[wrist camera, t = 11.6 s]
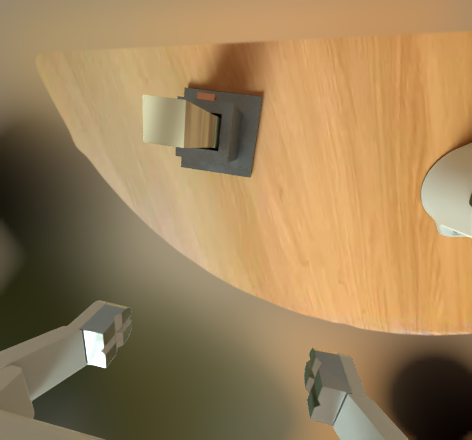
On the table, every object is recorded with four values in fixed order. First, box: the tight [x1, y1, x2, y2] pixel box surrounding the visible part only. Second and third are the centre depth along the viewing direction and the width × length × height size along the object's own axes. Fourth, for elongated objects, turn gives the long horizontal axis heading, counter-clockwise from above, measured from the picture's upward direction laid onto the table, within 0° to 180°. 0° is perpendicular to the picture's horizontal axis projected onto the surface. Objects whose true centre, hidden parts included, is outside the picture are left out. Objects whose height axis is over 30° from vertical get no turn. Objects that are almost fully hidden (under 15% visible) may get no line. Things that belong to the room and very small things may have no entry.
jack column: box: [143, 95, 221, 148], centre depth 27 cm, size 4×4×16 cm
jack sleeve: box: [176, 88, 263, 177], centre depth 37 cm, size 14×14×12 cm
